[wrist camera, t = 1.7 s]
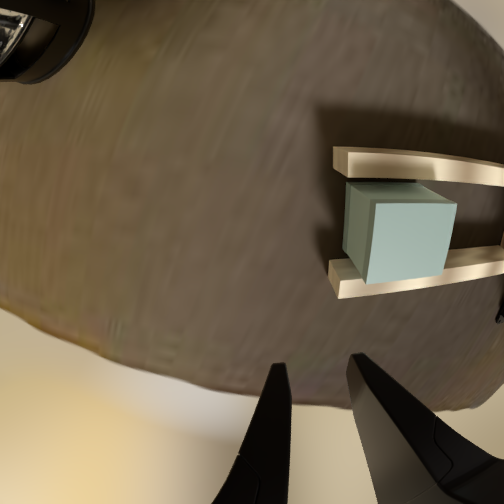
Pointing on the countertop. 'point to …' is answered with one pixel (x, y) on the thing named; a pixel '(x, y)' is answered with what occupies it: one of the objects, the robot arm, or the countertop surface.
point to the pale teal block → (396, 230)
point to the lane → (428, 168)
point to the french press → (60, 47)
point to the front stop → (502, 242)
